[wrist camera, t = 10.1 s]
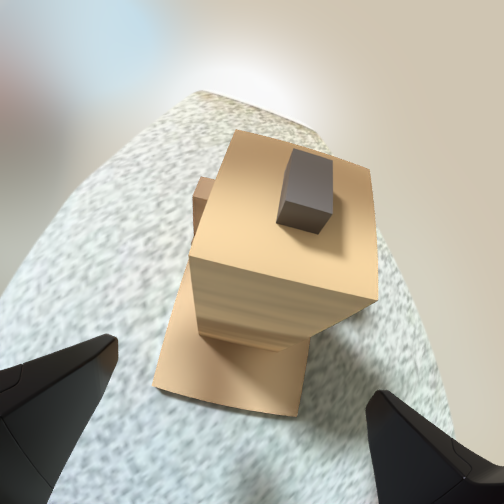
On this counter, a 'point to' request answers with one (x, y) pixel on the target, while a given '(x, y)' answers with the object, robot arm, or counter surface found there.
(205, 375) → the cleat board
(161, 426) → the counter surface
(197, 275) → the cabinet block
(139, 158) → the counter surface
